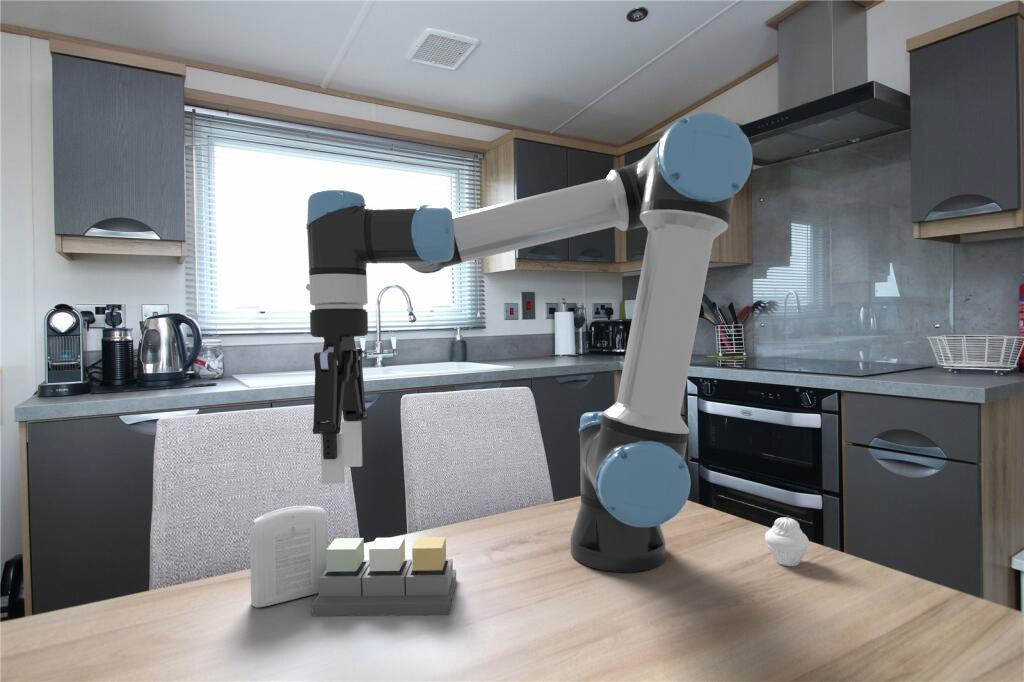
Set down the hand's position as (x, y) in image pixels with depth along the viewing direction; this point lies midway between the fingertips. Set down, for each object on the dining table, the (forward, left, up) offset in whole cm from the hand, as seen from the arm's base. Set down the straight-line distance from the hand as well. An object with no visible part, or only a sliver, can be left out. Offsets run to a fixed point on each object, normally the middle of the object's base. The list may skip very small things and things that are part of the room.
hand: (343, 473), depth 79 cm
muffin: (-65, -10, -17) cm, 68 cm away
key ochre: (-12, 0, -13) cm, 17 cm away
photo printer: (+8, -1, -17) cm, 19 cm away
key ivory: (-6, 0, -13) cm, 14 cm away
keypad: (-6, 0, -17) cm, 18 cm away
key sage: (0, 0, -13) cm, 13 cm away
